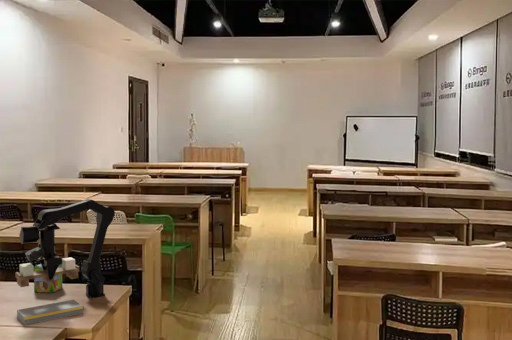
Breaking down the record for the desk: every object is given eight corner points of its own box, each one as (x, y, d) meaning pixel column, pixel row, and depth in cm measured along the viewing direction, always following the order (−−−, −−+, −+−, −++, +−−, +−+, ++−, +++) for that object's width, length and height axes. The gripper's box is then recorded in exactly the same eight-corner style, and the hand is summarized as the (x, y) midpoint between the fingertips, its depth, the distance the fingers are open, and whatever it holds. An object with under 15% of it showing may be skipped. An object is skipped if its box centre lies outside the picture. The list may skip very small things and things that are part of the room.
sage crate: (30, 272, 226) (29, 262, 226) (33, 275, 222) (33, 265, 222) (19, 274, 224) (19, 264, 223) (23, 276, 220) (22, 266, 219)
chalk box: (52, 293, 243) (51, 260, 242) (33, 292, 245) (32, 259, 244) (63, 287, 252) (62, 255, 251) (45, 286, 254) (44, 254, 253)
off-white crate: (71, 266, 236) (71, 257, 236) (75, 268, 232) (75, 259, 232) (61, 267, 234) (61, 258, 234) (65, 270, 230) (65, 260, 230)
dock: (73, 306, 225) (73, 299, 225) (83, 313, 217) (82, 306, 217) (17, 317, 212) (16, 310, 212) (24, 325, 204) (24, 317, 204)
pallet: (74, 274, 238) (74, 263, 238) (79, 277, 233) (79, 266, 233) (15, 284, 223) (15, 272, 223) (19, 287, 219) (19, 275, 218)
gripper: (20, 239, 230) (21, 276, 231) (33, 247, 215) (34, 286, 216) (48, 236, 236) (48, 272, 238) (62, 243, 222) (63, 281, 223)
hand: (48, 277), depth 228 cm, fingers closed on pallet, 6 cm apart
